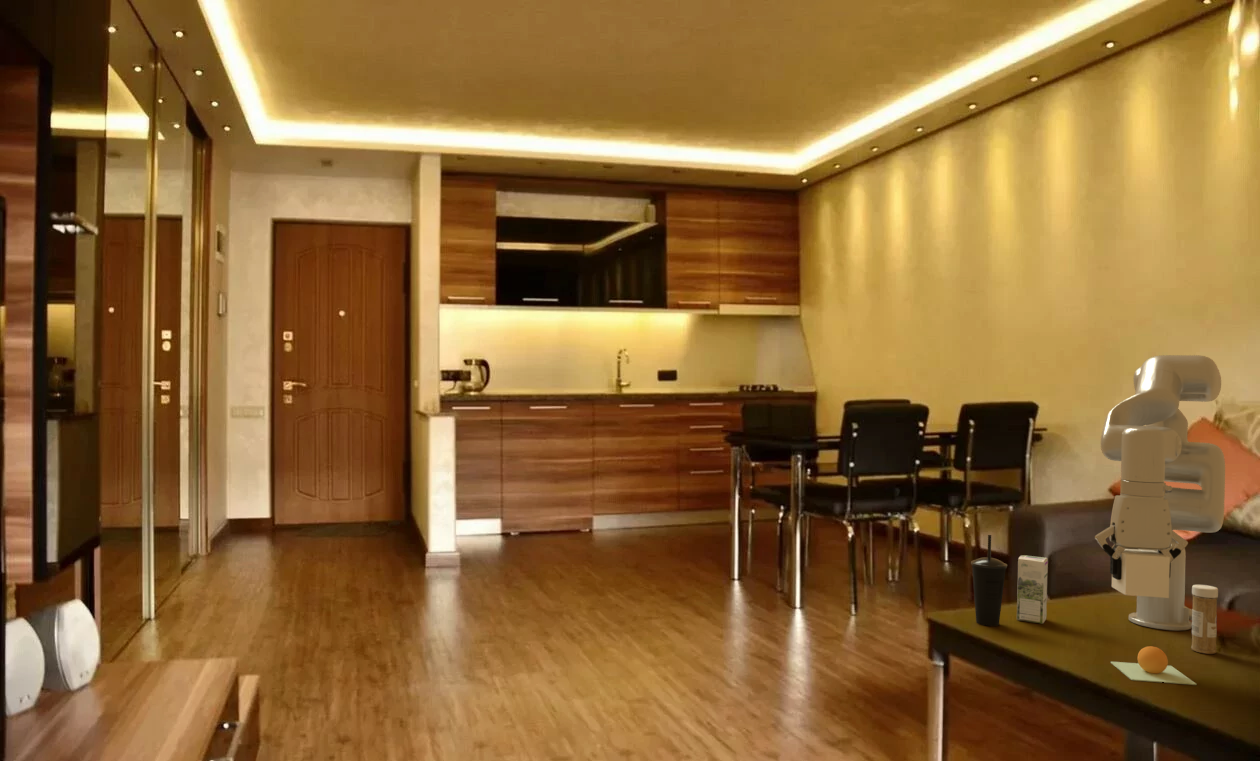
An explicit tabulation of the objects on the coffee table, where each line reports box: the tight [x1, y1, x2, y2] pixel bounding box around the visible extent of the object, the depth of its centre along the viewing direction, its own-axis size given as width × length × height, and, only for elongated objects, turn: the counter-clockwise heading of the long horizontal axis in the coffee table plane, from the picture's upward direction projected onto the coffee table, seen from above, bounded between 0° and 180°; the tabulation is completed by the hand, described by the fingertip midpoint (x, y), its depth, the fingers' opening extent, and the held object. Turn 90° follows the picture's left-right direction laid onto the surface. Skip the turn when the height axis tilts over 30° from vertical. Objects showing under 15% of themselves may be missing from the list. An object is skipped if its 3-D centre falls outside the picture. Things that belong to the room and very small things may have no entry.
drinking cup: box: [970, 534, 1008, 627], centre depth 207 cm, size 8×8×20 cm
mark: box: [1110, 661, 1197, 686], centre depth 173 cm, size 11×11×1 cm
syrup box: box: [1016, 554, 1049, 624], centre depth 211 cm, size 6×6×14 cm
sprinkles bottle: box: [1190, 584, 1219, 655], centre depth 189 cm, size 5×5×14 cm
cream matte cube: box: [1111, 548, 1170, 598], centre depth 179 cm, size 8×8×8 cm
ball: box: [1137, 645, 1169, 674], centre depth 173 cm, size 5×5×5 cm
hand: (1139, 579), depth 179 cm, fingers closed on cream matte cube, 7 cm apart
